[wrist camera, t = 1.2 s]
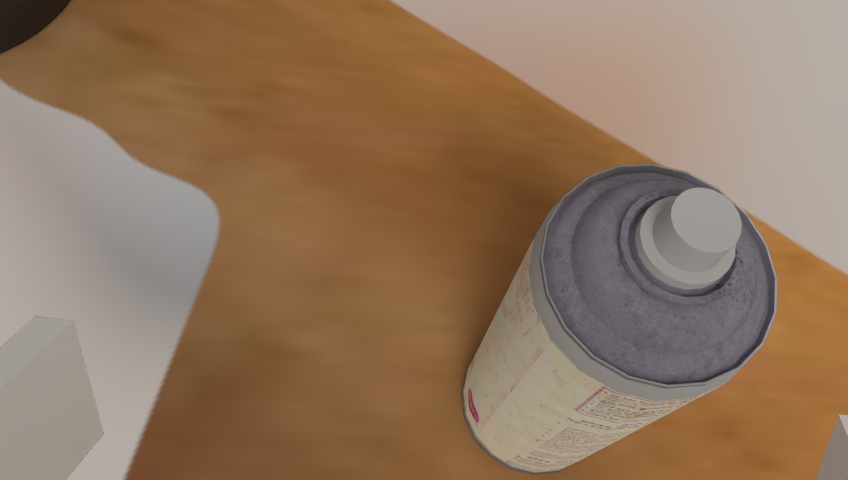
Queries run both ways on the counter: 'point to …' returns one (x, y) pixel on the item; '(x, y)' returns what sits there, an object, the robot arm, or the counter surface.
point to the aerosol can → (618, 317)
